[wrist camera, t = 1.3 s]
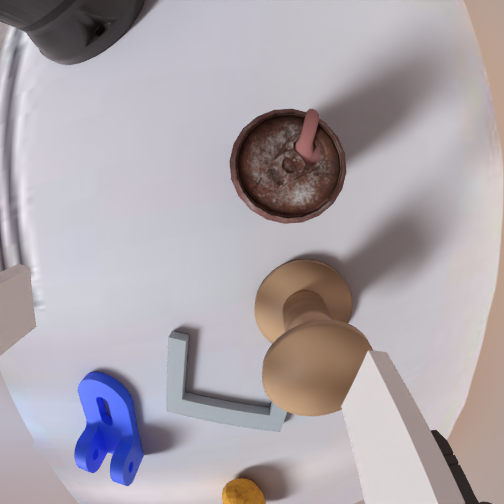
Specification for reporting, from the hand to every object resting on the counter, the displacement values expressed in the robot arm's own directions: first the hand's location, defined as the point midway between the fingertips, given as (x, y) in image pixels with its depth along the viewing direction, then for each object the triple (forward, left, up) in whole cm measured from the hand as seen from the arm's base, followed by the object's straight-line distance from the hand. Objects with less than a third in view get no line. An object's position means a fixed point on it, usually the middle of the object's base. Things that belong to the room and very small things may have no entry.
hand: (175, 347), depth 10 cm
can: (-7, +3, -20) cm, 22 cm away
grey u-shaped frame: (+18, +2, -20) cm, 27 cm away
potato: (+44, +8, -21) cm, 49 cm away
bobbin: (+6, +8, -20) cm, 23 cm away
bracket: (+31, -15, -21) cm, 40 cm away
